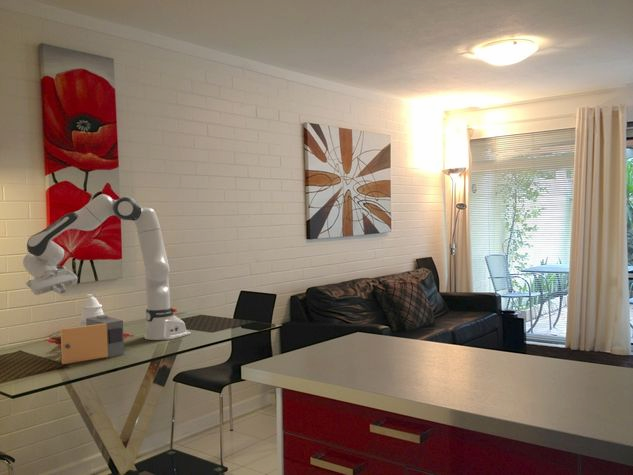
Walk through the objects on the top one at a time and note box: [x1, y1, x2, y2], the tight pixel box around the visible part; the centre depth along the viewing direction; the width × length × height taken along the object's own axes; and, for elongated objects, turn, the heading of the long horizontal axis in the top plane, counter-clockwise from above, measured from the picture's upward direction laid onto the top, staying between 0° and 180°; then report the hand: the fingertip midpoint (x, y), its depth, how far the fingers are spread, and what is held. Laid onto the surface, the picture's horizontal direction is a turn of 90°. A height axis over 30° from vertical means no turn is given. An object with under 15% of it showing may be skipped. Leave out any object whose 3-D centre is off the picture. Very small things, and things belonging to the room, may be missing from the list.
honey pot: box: [79, 293, 105, 327], centre depth 322 cm, size 13×13×18 cm
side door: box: [60, 323, 108, 365], centre depth 248 cm, size 3×18×14 cm, turn 127°
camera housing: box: [86, 314, 125, 359], centre depth 263 cm, size 8×19×16 cm, turn 46°
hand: (63, 291), depth 267 cm, fingers closed
